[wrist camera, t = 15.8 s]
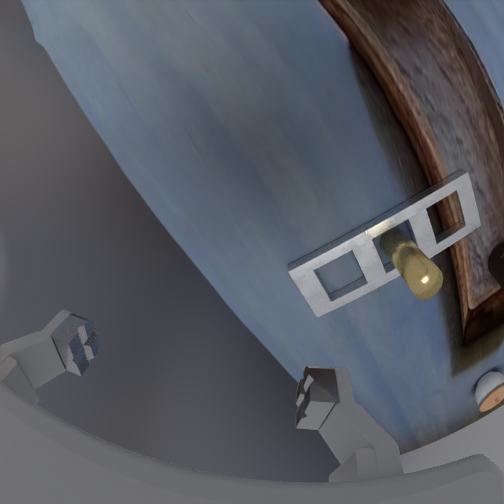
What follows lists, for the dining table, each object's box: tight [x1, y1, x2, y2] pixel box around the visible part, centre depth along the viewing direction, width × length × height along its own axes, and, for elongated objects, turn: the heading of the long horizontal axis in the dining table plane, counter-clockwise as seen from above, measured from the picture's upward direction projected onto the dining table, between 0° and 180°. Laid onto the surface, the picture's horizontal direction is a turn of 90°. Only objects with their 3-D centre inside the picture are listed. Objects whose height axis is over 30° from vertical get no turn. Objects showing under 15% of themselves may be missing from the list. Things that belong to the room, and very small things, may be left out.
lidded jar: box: [475, 371, 504, 412], centre depth 44 cm, size 11×11×9 cm
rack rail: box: [288, 169, 481, 317], centre depth 36 cm, size 30×9×2 cm, turn 123°
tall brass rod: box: [380, 228, 443, 299], centre depth 31 cm, size 4×4×12 cm
